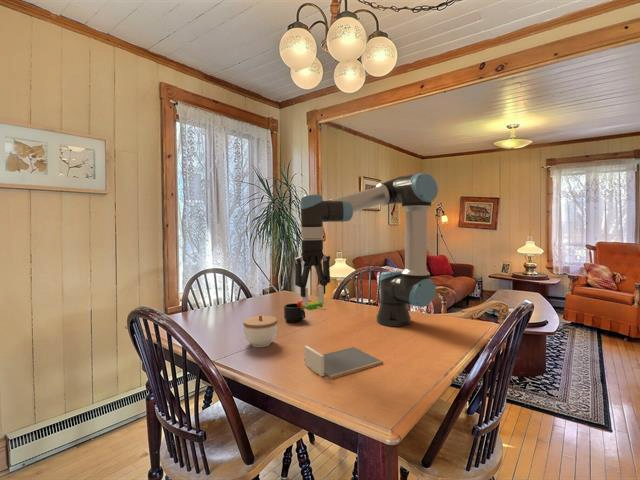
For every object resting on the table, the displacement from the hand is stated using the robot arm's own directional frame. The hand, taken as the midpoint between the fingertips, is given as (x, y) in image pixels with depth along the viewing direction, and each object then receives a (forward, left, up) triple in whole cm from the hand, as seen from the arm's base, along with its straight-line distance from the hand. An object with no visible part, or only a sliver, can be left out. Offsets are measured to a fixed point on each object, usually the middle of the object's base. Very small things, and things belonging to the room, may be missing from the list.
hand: (313, 304), depth 123 cm
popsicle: (0, 0, -2) cm, 2 cm away
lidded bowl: (+13, -17, -17) cm, 27 cm away
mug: (-12, -36, -17) cm, 42 cm away
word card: (+8, +14, -17) cm, 23 cm away
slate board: (-3, +14, -17) cm, 22 cm away
